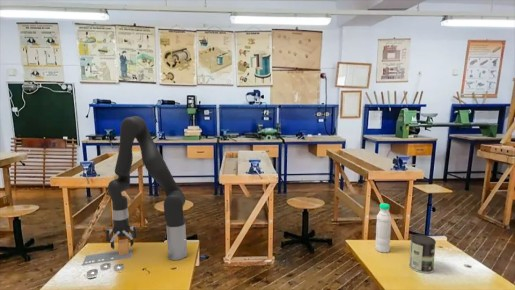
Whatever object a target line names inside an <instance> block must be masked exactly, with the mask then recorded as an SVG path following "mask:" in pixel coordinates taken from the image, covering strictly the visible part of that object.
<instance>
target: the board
mask: <svg viewBox="0 0 515 290" xmlns="http://www.w3.org/2000/svg"><path fill="white" fill-rule="evenodd" d="M132 256H133V248H129V253H128V254H123V255H119V251H118V250H115V251H107V252H101V253H95V254H88V255H85V256H84V259H83V262H82V265H81V266H87V265H93V264H95V265H96V264H98V263H104V262H105V263H108V262H112V261H119V260H124V259H131V258H132Z"/></svg>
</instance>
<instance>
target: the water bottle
mask: <svg viewBox="0 0 515 290" xmlns="http://www.w3.org/2000/svg"><path fill="white" fill-rule="evenodd" d="M390 207H391V206H390V204H389V203H385V202H383V203H380V204H379V211H378V213H377V214H376V226H375V234H376V235H375V245H374V247H375V250H376V251H377V252H379V253H383V254H385V253H386V254H387V253H389V252H390V250H391V245H390V244H391V234H392V233H391V232H392V224H391V223H392V216H391V213H390V212H389V211H390Z"/></svg>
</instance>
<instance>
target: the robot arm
mask: <svg viewBox="0 0 515 290" xmlns="http://www.w3.org/2000/svg"><path fill="white" fill-rule="evenodd" d="M119 129H120V130H119V132H120V133H119V145H118V147H119V148H118V153H117V159H116V163H115V167H114V174H115V175H116V176H117V178H115V179H113V180H110V182H109V183H108V185H107V191H108V195H109V198H110V200H111V205H112V206H111V207H112V213H111V214H112V216H111V218H112V228H107V229H106V233H105V234H106V236H105V239H106V243H108V242H109V243H110V248H111V249H112V250H113V249H115V240H116V238H117V237H118V238H119V237H127V238H128V239H129V241H130V242H129V244H130V247H133V246H134V239H136V238H137V236H138V234H137V225H132V226H130V219H129V217H130V216H129V215H130V214H129V209H128V208H129V205H128V197H126V196H125V195H123V194H122V192H124V191H127V190H128V189H129V187H130V184H131V169H132V165H133V146H134V145H133V144H134V141H135V139H136V142H137V143H138V145H139V147H140V154H141V159H142V160H141V161H142V162H143V163H142V164H143V165H144V167H145V169H146V171H147V173H148V174H149V176H150V177H151V178H152V179H153V180H154V181H155V182H157V184H158V185H160V187H161V188H162V190H163V192H164V194H165V196H166V197H165V199H164V201H163V213H164V214H163V215H164V220H165V224H166V225H165V226H166V242H167V258H168V259H169V260H171V261H177V260H178V261H180V260H182V259H185V258H187V257H188V248H187V247H188V243H187V232H186V230H187V228H186V217H185V216H184V205H185V204H186V196H185V195H184V193H183V191H182V190H181V188H180V186H179V185H178V184H177V182H176V181H175V179H174V176H173V175H172V173H171V171H170V170H169V168H168V165H167V164H166V161H165V159H164V158H163V155H162V154H161V152H160V151H159V149H158V147H157V145H156V143H155V142H154V139H153V138H152V135H151V133H150V131H149V128H148V126H147V124H146V121H145V120H144V119H143V118H142V117H140V116H138V115H135V116H134V115H133V116H127V117H125V118H124V119H123V120H122V121H121V124H120V128H119ZM130 231H133V234H132V233H131V232H130ZM112 233H113V235H112V237H110V235H111V234H112Z"/></svg>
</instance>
